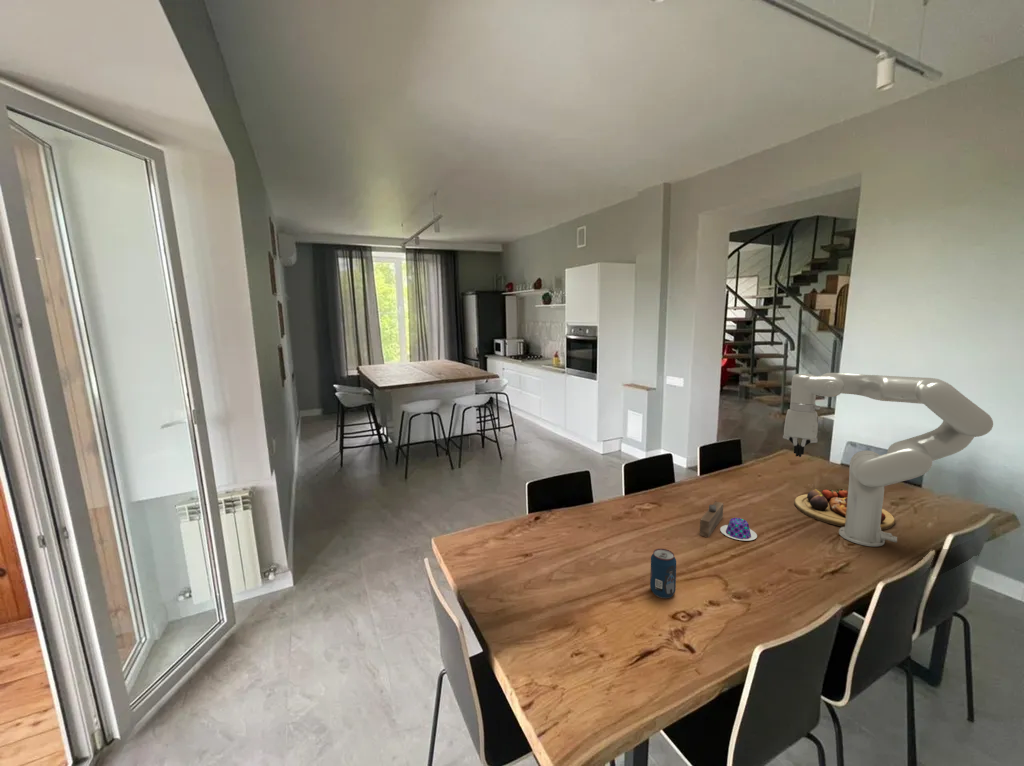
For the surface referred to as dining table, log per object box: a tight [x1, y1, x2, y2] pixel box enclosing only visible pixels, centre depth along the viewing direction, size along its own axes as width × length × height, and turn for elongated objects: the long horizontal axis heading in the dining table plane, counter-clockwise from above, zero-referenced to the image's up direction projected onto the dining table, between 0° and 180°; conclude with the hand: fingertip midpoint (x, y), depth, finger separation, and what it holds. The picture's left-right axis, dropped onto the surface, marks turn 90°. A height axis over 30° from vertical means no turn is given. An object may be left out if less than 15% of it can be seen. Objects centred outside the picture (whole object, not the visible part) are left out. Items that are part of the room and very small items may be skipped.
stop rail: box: [699, 501, 724, 538], centre depth 162 cm, size 3×20×8 cm, turn 140°
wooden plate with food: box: [793, 488, 896, 531], centre depth 171 cm, size 32×32×8 cm
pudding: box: [719, 517, 758, 542], centre depth 156 cm, size 12×12×5 cm
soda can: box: [649, 548, 677, 599], centre depth 123 cm, size 7×7×12 cm
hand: (798, 455), depth 159 cm, fingers closed
